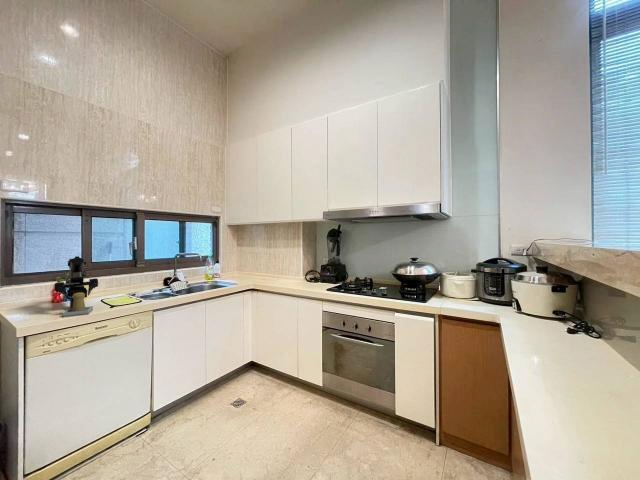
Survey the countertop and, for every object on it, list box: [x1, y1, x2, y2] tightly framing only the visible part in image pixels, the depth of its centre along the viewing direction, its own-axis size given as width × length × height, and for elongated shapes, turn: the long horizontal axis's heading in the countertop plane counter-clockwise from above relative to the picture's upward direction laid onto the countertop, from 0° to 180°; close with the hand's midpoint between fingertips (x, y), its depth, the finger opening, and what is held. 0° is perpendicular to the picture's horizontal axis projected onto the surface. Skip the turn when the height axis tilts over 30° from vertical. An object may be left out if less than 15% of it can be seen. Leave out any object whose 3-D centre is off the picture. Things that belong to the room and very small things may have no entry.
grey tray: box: [62, 306, 94, 318], centre depth 147 cm, size 10×10×2 cm
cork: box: [72, 293, 86, 312], centre depth 147 cm, size 6×6×11 cm
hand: (77, 296), depth 149 cm, fingers open, 9 cm apart
